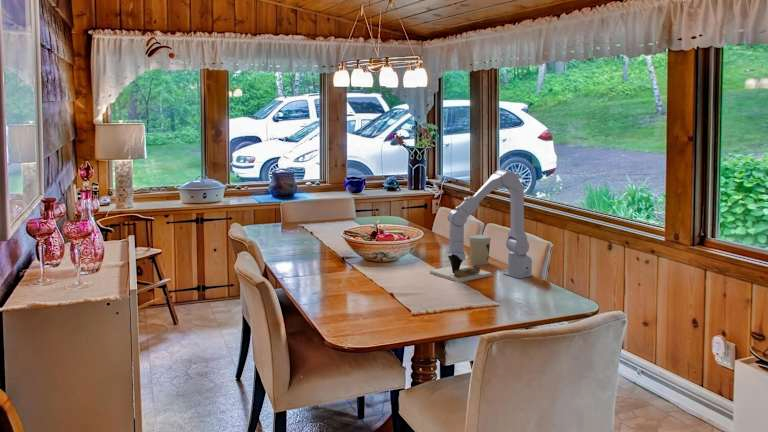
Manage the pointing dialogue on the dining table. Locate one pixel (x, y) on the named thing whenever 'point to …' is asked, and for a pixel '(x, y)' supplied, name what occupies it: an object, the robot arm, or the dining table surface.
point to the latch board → (449, 274)
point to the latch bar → (467, 271)
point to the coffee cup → (479, 249)
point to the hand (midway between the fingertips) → (455, 273)
